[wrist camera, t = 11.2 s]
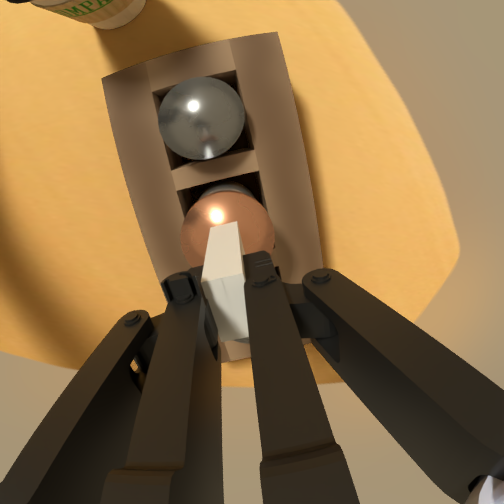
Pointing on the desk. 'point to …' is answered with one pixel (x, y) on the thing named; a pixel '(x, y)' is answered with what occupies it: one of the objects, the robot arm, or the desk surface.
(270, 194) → the wooden jar holder
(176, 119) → the ball
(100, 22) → the coffee cup
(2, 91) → the desk surface
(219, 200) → the terracotta plunger
